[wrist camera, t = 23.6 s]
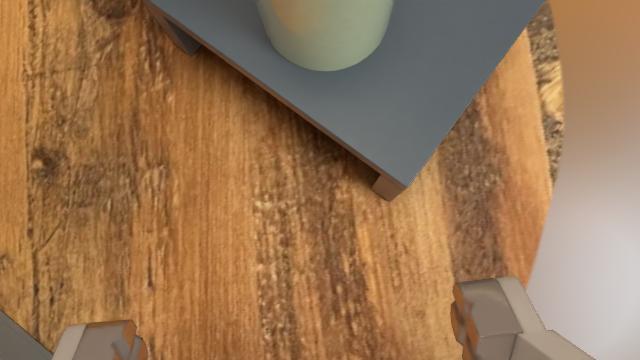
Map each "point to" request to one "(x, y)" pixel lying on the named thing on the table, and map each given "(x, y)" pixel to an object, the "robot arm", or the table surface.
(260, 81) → the shelf
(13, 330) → the open bin
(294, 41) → the cup
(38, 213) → the table surface
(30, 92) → the table surface
